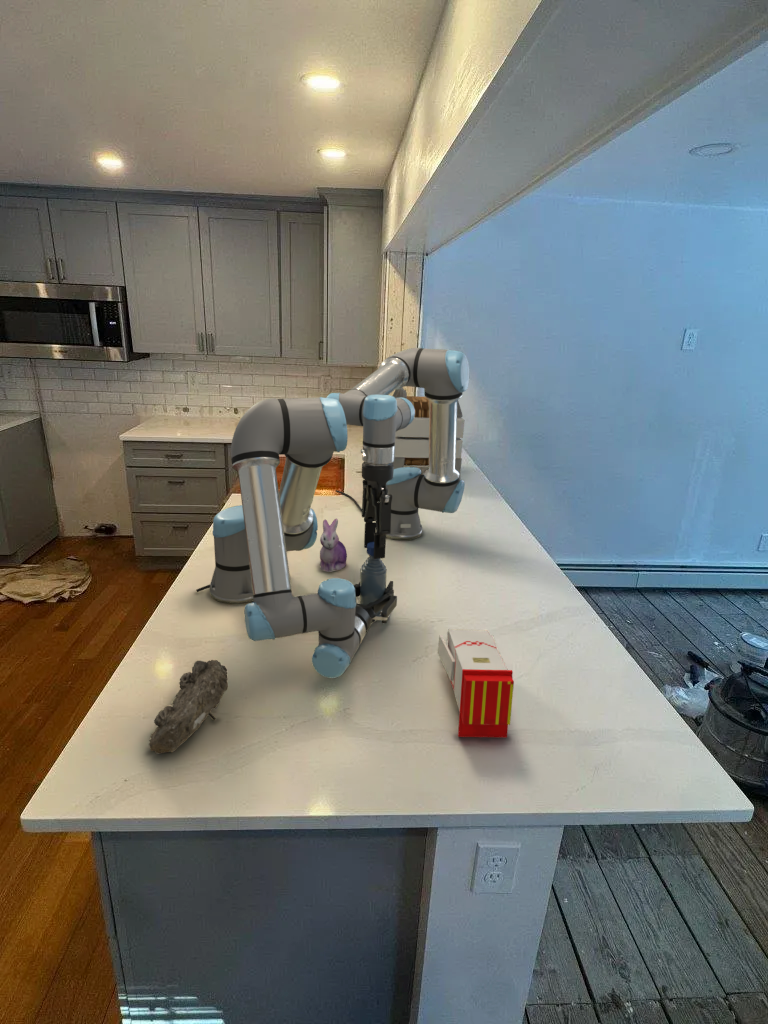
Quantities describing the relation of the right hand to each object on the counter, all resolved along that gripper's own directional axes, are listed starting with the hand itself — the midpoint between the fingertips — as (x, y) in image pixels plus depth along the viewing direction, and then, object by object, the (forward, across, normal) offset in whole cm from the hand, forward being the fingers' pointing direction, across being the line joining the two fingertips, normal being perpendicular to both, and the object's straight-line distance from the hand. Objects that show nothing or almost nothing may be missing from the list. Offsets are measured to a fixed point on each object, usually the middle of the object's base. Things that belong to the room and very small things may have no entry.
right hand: (374, 552), depth 141 cm
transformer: (+18, -119, +69) cm, 138 cm away
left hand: (+11, -4, +3) cm, 12 cm away
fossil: (+18, +26, -46) cm, 55 cm away
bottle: (+18, 0, 0) cm, 18 cm away
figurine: (+18, -30, -1) cm, 35 cm away
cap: (-2, 0, 0) cm, 2 cm away
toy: (+18, +36, +8) cm, 41 cm away
